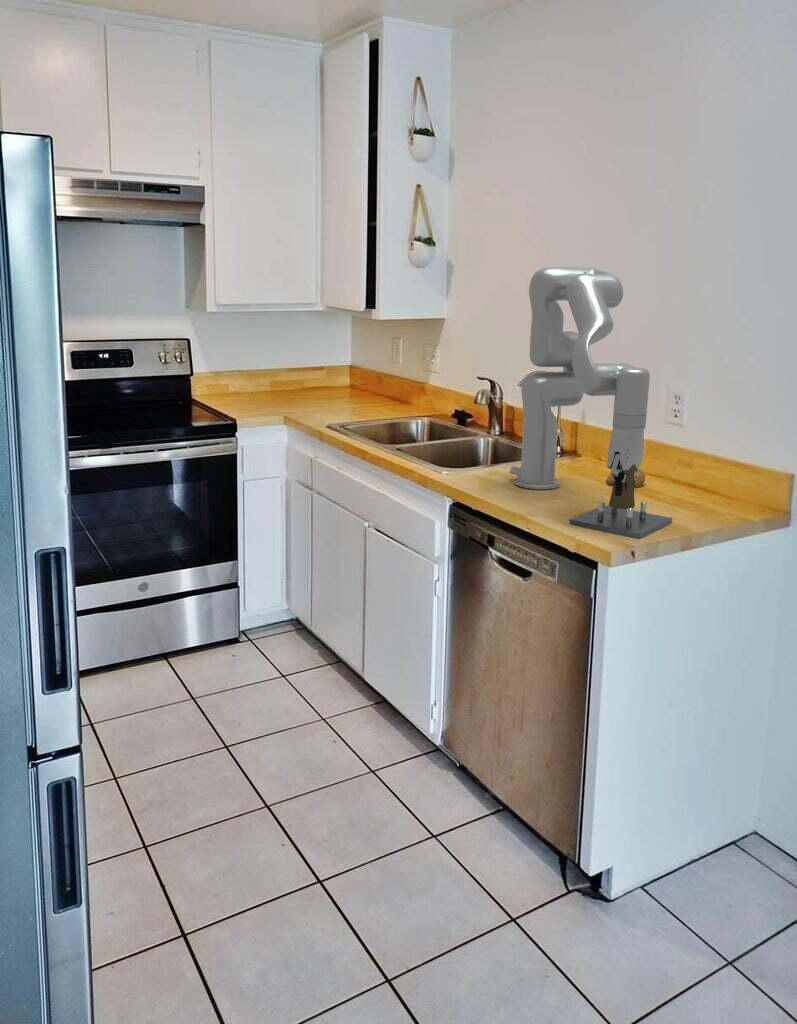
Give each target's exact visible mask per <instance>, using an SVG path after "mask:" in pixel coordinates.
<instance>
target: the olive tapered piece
mask: <svg viewBox="0 0 797 1024" xmlns="http://www.w3.org/2000/svg"><path fill="white" fill-rule="evenodd" d="M619 470H622V467H619ZM635 472H636V465H635V464H633V465H632V466H631V468H630V469H629V470H627V471H626V475H627V478H626V483H627V488H626V490H625V484H623V487H622V494H621V496H616V495H615V486H616V482H615V486H614V484H613V485H612V489H611V494H610V498H609V502H608V506H610V507H613V508H618V509H627V508H629V507H630V508H633V509H635V507H636V504H635V502H636V501H635V488H634V482H633V475H634V473H635ZM619 473H621V474H622V476H623V472H619ZM613 488H614V490H613ZM618 493H619V492H618Z"/></svg>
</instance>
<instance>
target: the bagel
mask: <svg viewBox="0 0 797 1024" xmlns="http://www.w3.org/2000/svg"><path fill="white" fill-rule="evenodd" d="M645 481H646V474H645V473H644V471H643V470H641V468H638V469H637V472H636V479H635V487H634V489H637V488H640V487H642V486H643V485H644V484H645ZM605 482H606V484H607V485H609V484H610V486H613V484H614V482H613V476H612V475H611V473H610V474H608V476H607V477H606V479H605Z"/></svg>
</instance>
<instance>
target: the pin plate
mask: <svg viewBox="0 0 797 1024" xmlns="http://www.w3.org/2000/svg"><path fill="white" fill-rule="evenodd" d="M647 504H648V503H647V502H646V501H641V502H640V507H639V508H640V510H639V511H638V510H634V508H630V507H629V508H627V509H618V508H613V507H610V506H609V505H605V502H604V501H603V502H602V501H599V502H598V505H597V508H594V509H592V510H590V511H587V512H585V513H581V514H580V515H577V516H575V517H572V518H570V519H569V525H571V524H573V526H576V525H577V526H576V527H581V526H582V528H585V527H588V528H587V529H590V528H591V530H595V529H596V530H595V531H600V530H601V532H605V533H609V532H610V534H615V535H619V536H625V537H630V538H634V539H637V540H640V539H642V538H644V537H646V536H648V535H650V534H652V533H654V532H657V531H658V530H660V529H662V528H665V527H667V526H669V525H671V524H672V523H673V517H669V516H663V515H657V514H653V513H649V512H648V513H647V506H648V505H647Z"/></svg>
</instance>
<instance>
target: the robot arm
mask: <svg viewBox="0 0 797 1024" xmlns="http://www.w3.org/2000/svg"><path fill="white" fill-rule="evenodd" d="M528 287H529V288H528V295H529V296H528V297H529V302H530V308H531V322H530V323H531V324H530V335H529V336H530V337H529V339H530V341H529V359H530V362H531V364H533V366H536V367H540V368H562V371H539V372H538V371H537V372H536V371H535V372H532V373H529V374H528V375H526V376H525V377H524V378H523V380H522V382H521V387H520V392H521V401H522V409H523V410H522V411H523V412H522V413H523V415H522V416H523V417H522V438H521V440H522V441H521V443H522V444H521V455H520V456H521V459H520V460H521V461H520V466H514V465H512V466H510V467H509V468H510V469H509V474H511V475H516V478H515V479H514V485H516V486H517V485H518V486H517V487H519V486H520V488H523V487H524V488H523V489H528V488H529V489H530V490H552V489H557V488H559V486H560V484H561V483H560V480H559V479H557V478H555V474H556V462H557V461H556V459H557V443H558V420H557V417H556V416H555V414H554V412H553V410H552V408H554V407H569V406H570V407H571V406H575V405H578V404H580V402H581V401H582V399H583V397H584V395H586V396H591V397H596V396H597V397H599V396H605V397H606V396H614V400H613V401H614V402H613V415H612V428H611V433H610V439H609V443H608V450H607V458H606V467H607V469H609V470H610V474H611V475H612V476H613V482H614V486H615V482H616V486H615V495H616V496H621V494H622V487H623V484H625V490H626V488H627V483H626V478H627V475H626V471H627V470H629V469H630V468H631V466H632V465H633V464H635V465H636V472H637V469H640V466H641V465H642V463H643V460H644V459H643V458H644V444H645V443H644V442H645V440H644V439H645V433H644V430H645V429H646V427H647V416H648V415H647V413H648V402H649V401H648V400H649V391H650V390H649V388H650V380H651V379H650V375H651V374H650V371H649V370H648V369H646V368H644V367H635V366H634V365H632V364H629V363H594V362H593V359H592V355H591V353H590V346H591V345H593V344H596V343H598V342H599V341H601V340H603V339H604V338H606V337H607V336H608V335H609V334H611V332H612V331H613V329H614V321H613V319H612V315H611V314H610V311H609V309H615V308H616V307H618V306H619V305H620V304H621V302H622V300H623V297H624V288H623V284H622V281H621V280H620V278H618V277H617V276H616V275H615V274H612V273H610V272H606V271H604V270H601V269H597V268H592V267H575V266H574V267H573V266H572V267H571V266H550V267H544V268H541V269H538V270H537V271H536V272H534V274H533V275H532V276H531V279H530V282H529V285H528ZM558 301H567V303H568V305H569V308H570V311H571V314H572V316H573V320H574V323H575V326H576V328H577V331H578V332H577V331H564V318H565V316H564V312H563V310H562V307H561V305H560V304H559V302H558ZM619 467H622V470H619ZM619 472H623V476H622V474H621V473H619ZM636 472H635V473H634V475H633V482H634V487H635V479H636ZM612 488H613V487H612ZM613 490H614V488H613ZM618 492H619V493H618Z"/></svg>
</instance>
